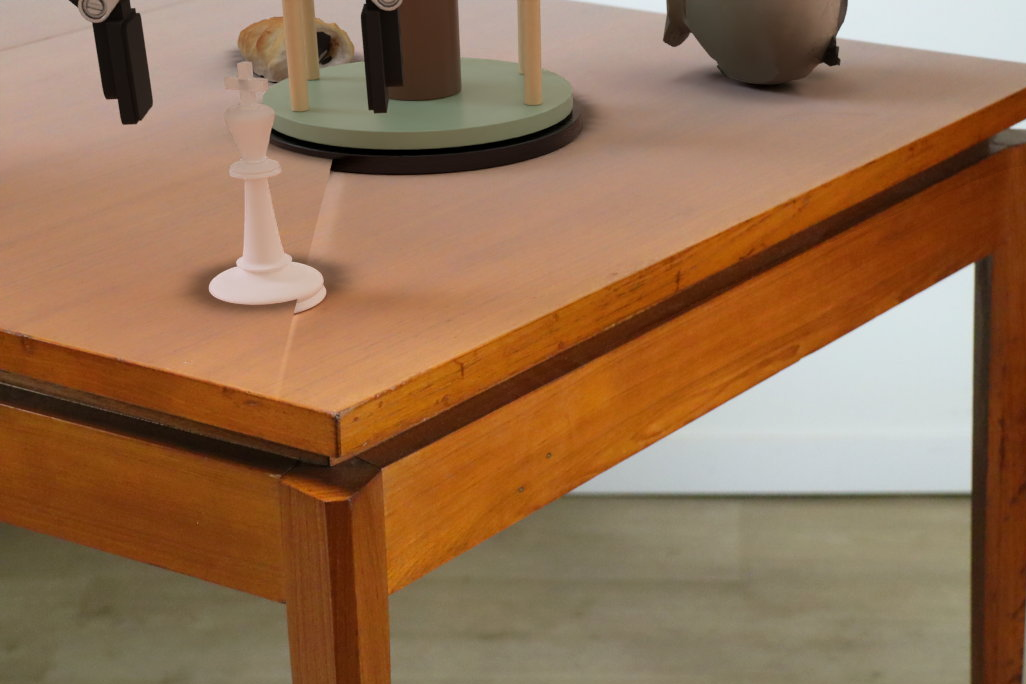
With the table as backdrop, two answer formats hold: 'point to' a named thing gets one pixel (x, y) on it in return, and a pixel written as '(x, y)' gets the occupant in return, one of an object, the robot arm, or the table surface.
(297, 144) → the rack base
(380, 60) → the robot arm
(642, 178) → the table surface
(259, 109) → the chess piece
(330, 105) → the rack
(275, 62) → the pastry
